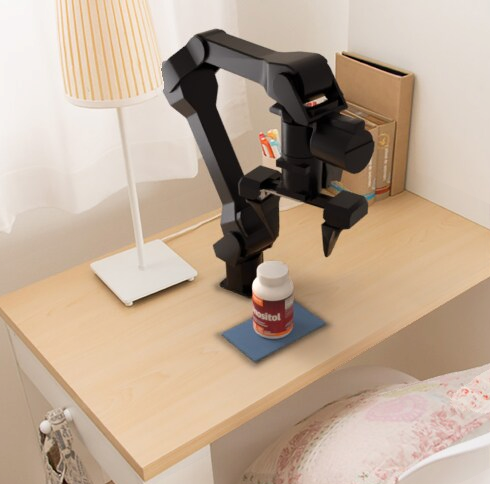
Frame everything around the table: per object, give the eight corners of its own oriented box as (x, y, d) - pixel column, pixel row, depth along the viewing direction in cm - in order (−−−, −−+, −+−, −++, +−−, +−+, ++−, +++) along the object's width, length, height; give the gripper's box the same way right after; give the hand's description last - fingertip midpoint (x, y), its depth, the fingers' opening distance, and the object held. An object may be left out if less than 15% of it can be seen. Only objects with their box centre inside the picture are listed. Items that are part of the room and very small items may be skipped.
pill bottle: (246, 333, 114) (243, 274, 108) (264, 311, 119) (263, 253, 113) (282, 345, 112) (281, 285, 106) (300, 322, 117) (300, 263, 110)
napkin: (255, 362, 110) (255, 360, 109) (221, 335, 115) (221, 333, 115) (325, 324, 117) (325, 322, 116) (291, 300, 122) (291, 298, 122)
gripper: (390, 144, 103) (382, 241, 112) (279, 116, 112) (280, 207, 121) (350, 175, 96) (345, 276, 104) (233, 142, 104) (238, 237, 113)
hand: (301, 246), depth 111 cm, fingers open, 9 cm apart
